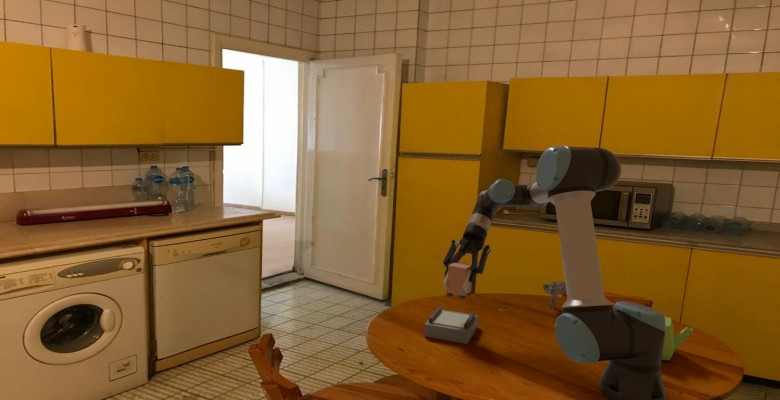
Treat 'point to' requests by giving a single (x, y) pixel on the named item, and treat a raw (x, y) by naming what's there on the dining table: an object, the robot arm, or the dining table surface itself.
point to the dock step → (451, 326)
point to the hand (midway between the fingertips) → (454, 287)
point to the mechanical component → (554, 290)
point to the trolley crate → (458, 279)
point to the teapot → (673, 339)
